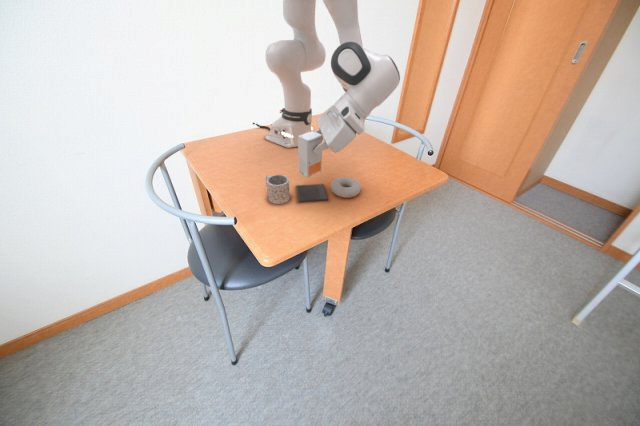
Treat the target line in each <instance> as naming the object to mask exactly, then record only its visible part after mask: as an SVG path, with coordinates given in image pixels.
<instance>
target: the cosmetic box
mask: <svg viewBox="0 0 640 426" xmlns="http://www.w3.org/2000/svg"><path fill="white" fill-rule="evenodd" d="M323 140H324V137H323V135H321V134H319V133H317V132H316V130H312V132H308V133H305V134H303V135H300V136H298V147H297V156H298V158H297V160H298V163H297V164H298V165H297V166H298V173H299V174H301V175H302V176H304V177H305V178H306V179H307V178H310V177H312V176H314V175H316V174H319V173H321V172H322V164H323V163H322V162H323V159H322V158H323V151H322V152H320V153H319V154H318V155H317V154H316V153H315V152H314V150H313V149H314V147H315V146H316V145H319V144H321V143H322V141H323Z"/></svg>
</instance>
